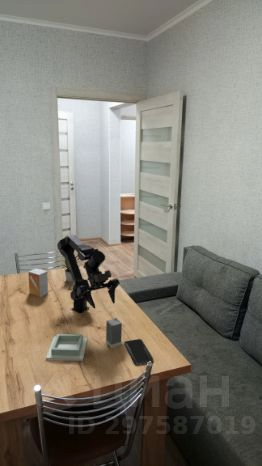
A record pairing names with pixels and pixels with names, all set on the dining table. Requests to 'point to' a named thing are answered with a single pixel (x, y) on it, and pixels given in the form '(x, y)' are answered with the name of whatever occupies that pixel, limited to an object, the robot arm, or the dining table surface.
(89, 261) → the robot arm
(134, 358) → the phone
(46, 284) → the small box
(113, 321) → the connector plug
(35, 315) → the dining table surface
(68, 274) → the house plant
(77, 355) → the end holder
